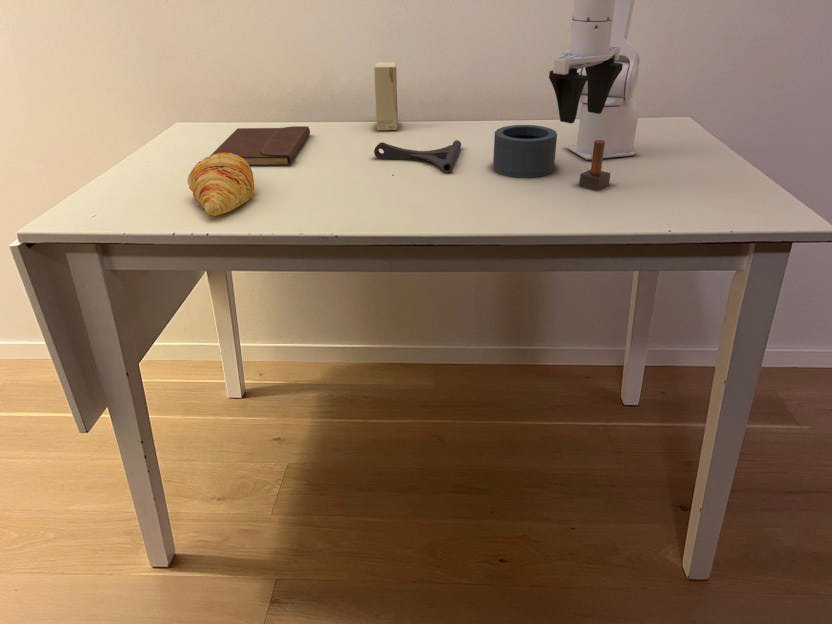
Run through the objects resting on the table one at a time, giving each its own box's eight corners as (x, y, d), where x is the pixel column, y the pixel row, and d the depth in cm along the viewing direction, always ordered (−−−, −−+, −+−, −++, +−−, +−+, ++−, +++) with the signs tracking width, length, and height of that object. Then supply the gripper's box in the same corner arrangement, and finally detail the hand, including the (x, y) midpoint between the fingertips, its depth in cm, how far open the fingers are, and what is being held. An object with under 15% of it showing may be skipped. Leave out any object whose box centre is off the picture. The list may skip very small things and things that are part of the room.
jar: (538, 157, 125) (541, 122, 122) (563, 174, 117) (567, 137, 113) (484, 162, 123) (486, 127, 120) (506, 180, 115) (508, 143, 111)
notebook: (208, 166, 125) (206, 154, 124) (237, 136, 141) (235, 126, 140) (291, 165, 124) (290, 154, 123) (310, 135, 140) (309, 125, 139)
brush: (590, 180, 113) (596, 137, 110) (609, 185, 111) (615, 141, 108) (578, 186, 111) (584, 141, 108) (597, 190, 109) (603, 145, 106)
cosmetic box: (397, 131, 142) (396, 66, 135) (376, 131, 142) (373, 67, 136) (398, 123, 147) (396, 60, 141) (377, 123, 148) (375, 61, 141)
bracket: (383, 147, 133) (382, 132, 131) (461, 149, 130) (461, 133, 129) (366, 170, 121) (365, 154, 119) (451, 173, 118) (452, 157, 117)
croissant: (238, 242, 103) (257, 195, 100) (171, 216, 100) (188, 166, 97) (250, 192, 121) (267, 150, 117) (193, 168, 118) (209, 124, 114)
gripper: (595, 12, 106) (584, 104, 114) (539, 22, 98) (531, 122, 105) (637, 15, 102) (623, 111, 109) (582, 26, 94) (571, 129, 101)
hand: (581, 117), depth 107 cm, fingers open, 7 cm apart
